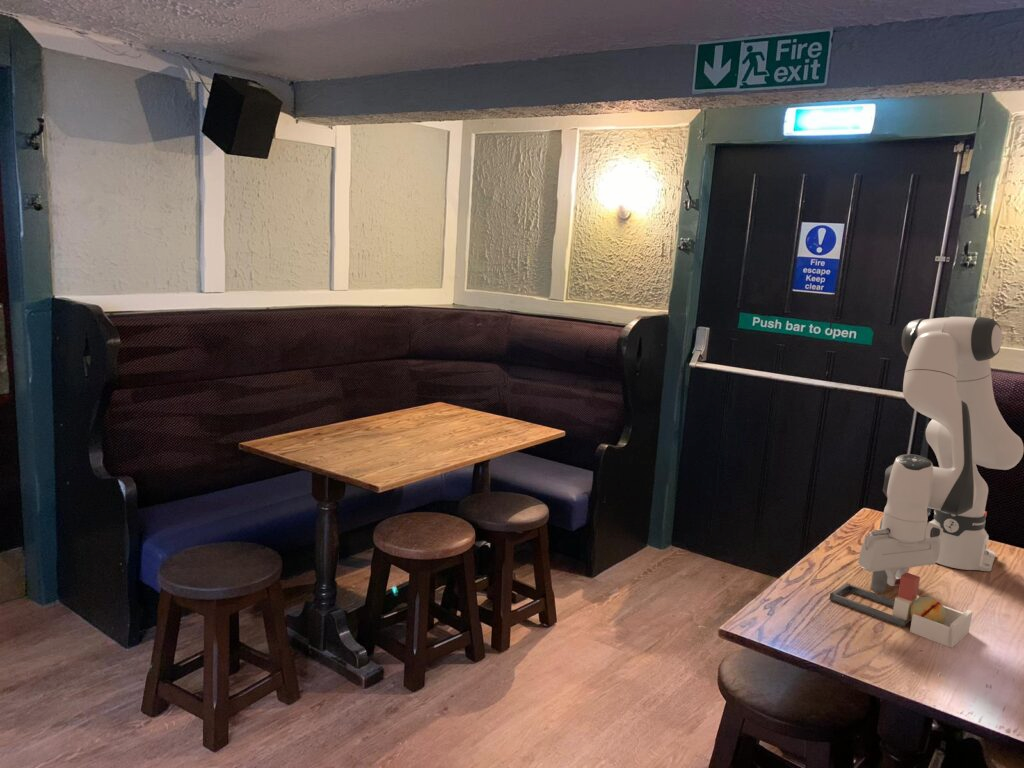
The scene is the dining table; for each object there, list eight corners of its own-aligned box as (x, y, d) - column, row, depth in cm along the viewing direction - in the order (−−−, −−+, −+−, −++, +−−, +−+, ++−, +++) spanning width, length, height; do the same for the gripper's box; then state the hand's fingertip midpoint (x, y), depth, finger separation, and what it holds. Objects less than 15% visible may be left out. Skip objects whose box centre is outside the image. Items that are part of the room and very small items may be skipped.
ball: (900, 623, 174) (905, 594, 173) (920, 617, 177) (925, 589, 176) (929, 638, 168) (935, 608, 166) (950, 632, 171) (955, 602, 170)
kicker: (902, 611, 179) (908, 570, 177) (915, 616, 177) (922, 575, 175) (891, 618, 175) (898, 577, 173) (905, 624, 173) (912, 582, 171)
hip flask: (882, 594, 189) (894, 515, 185) (864, 588, 191) (876, 511, 187) (901, 575, 200) (913, 501, 197) (884, 570, 203) (896, 497, 199)
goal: (927, 617, 178) (931, 597, 177) (968, 632, 172) (972, 611, 171) (909, 631, 170) (913, 610, 169) (951, 647, 164) (955, 626, 163)
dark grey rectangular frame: (846, 588, 190) (847, 583, 190) (919, 615, 178) (920, 609, 178) (829, 599, 184) (830, 593, 184) (904, 627, 172) (905, 621, 172)
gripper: (878, 536, 168) (869, 595, 171) (949, 529, 175) (939, 586, 178) (856, 525, 174) (848, 583, 176) (925, 519, 181) (916, 574, 183)
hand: (894, 584), depth 177 cm, fingers closed
